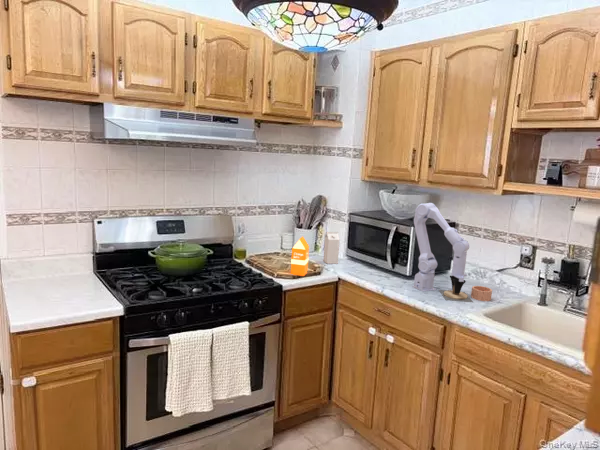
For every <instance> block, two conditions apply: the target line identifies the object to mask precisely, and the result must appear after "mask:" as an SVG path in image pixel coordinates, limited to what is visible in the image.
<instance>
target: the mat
mask: <svg viewBox="0 0 600 450" xmlns="http://www.w3.org/2000/svg"><path fill="white" fill-rule="evenodd" d="M438 291H439V293H440V294H441V296H442V298H443V299H444V300H445V301H451V302H462V303H463V302H464V303H474V301H473V300H472V299H471V297H470V296H469V295H468V296H467V299H463V300H459V299H452V298H449V297H446V296H445V295H444V291H447V289H446V290H445V289H438ZM460 292H463V293H465V294H467V292H465V291H462V290H461V291H460Z"/></svg>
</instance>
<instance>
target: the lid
mask: <svg viewBox="0 0 600 450" xmlns="http://www.w3.org/2000/svg"><path fill="white" fill-rule="evenodd" d="M446 290H447V289H446ZM463 292H464V291H461V292H460V293H459V294H457V293H455V291H454V285H453V290H452V289H451V290H450V289H449V290H447V291H444V295H445V296H446V297H449V298H452V299H459V300H463V299H467V296H469V295H468V294H467V293H466V292H465V293H466V294H465V293H463Z"/></svg>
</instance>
